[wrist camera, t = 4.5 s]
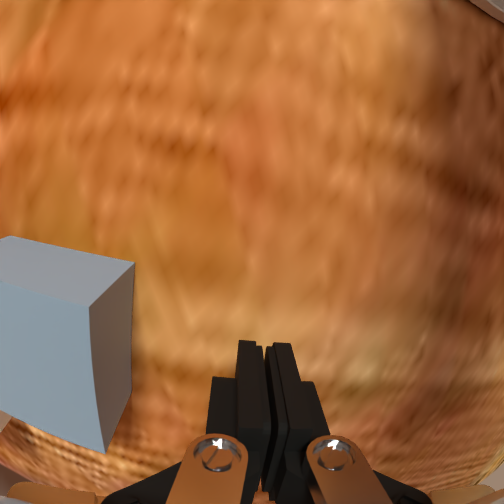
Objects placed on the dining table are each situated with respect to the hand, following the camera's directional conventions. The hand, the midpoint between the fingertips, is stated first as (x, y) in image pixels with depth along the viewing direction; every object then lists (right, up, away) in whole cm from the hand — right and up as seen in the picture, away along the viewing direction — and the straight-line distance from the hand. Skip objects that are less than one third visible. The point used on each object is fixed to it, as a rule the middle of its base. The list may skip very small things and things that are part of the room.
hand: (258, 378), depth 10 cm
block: (-8, +2, +1) cm, 8 cm away
